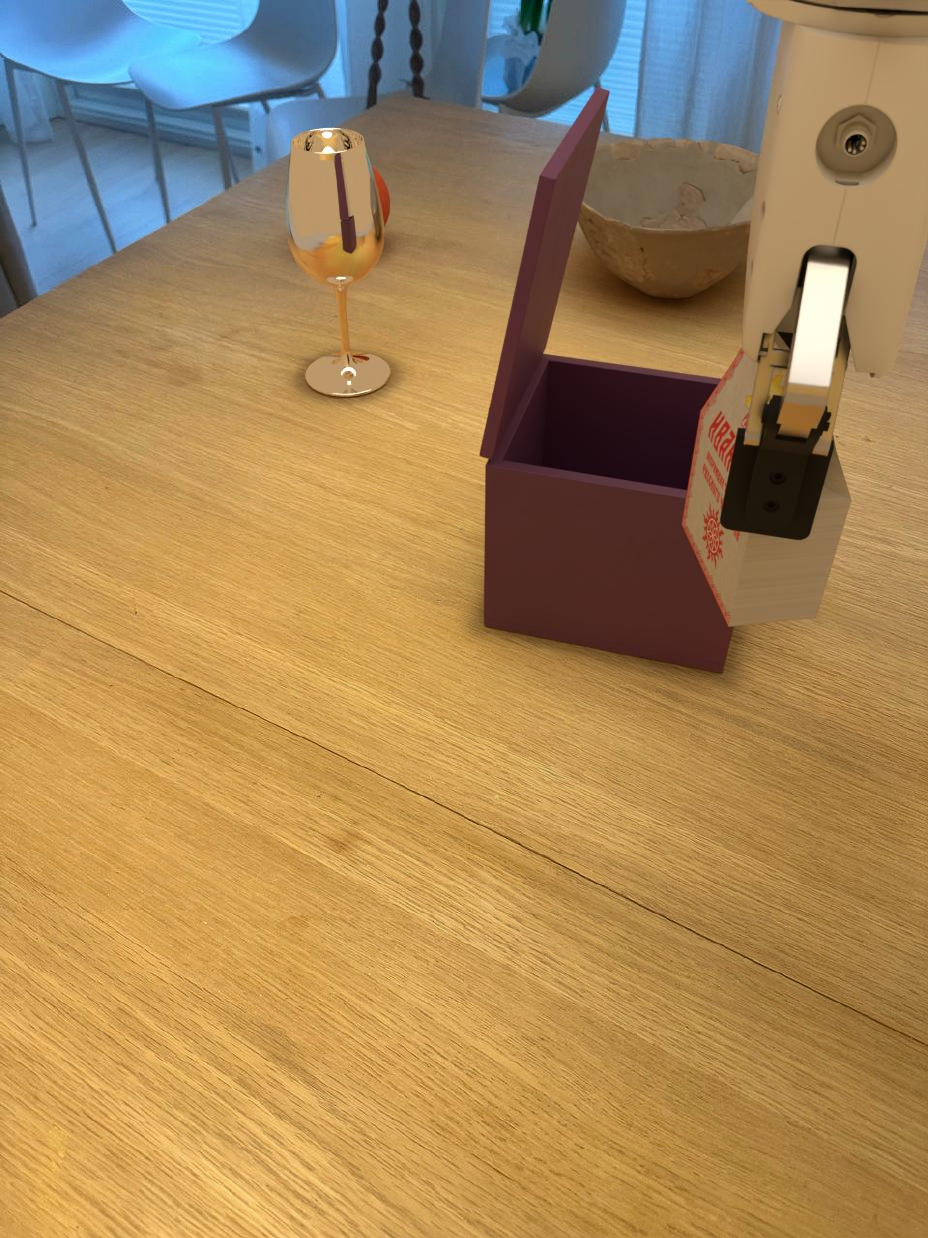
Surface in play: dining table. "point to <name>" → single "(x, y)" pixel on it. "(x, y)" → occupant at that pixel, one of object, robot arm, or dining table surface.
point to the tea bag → (746, 562)
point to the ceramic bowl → (669, 212)
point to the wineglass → (336, 241)
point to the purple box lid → (543, 266)
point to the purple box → (601, 515)
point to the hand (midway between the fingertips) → (769, 463)
